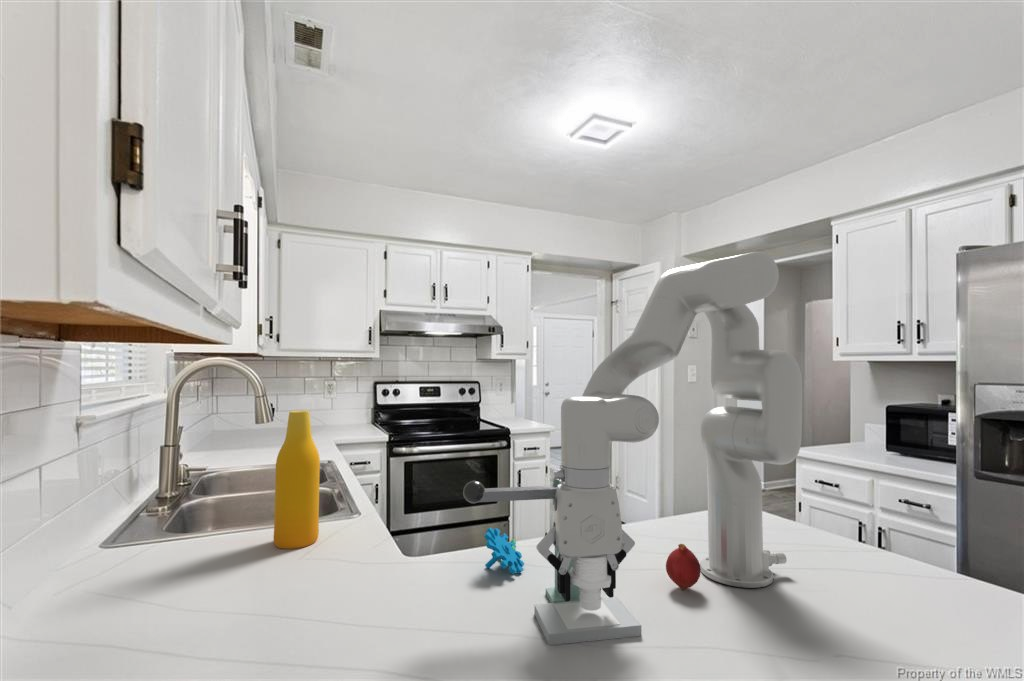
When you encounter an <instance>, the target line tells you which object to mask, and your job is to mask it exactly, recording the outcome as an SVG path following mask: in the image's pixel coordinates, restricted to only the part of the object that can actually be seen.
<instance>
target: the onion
mask: <svg viewBox="0 0 1024 681" xmlns="http://www.w3.org/2000/svg"><path fill="white" fill-rule="evenodd" d="M677 546H678V547H677V548H675V549H674V550H672V551H671V552H670V553H669V555H668V556H667V559H666V563H665V571H666V574H667V575H668V578H669V579H670V580H671V581H672V582H673V583H674V584H675V585H676V586H677V587H678V588H679V589H680V590H682V591H685V590H688V589H690V588H692V587H693V586H694V585H695V584H697V583H698V581H699V579H700V577H701V573H702V572H701V568H700V561H699V560H698V557H696V555H695V554H694V552H692V550H690V549H689V548H688V547H687V546H686V545H685V544H684V543H682V542H681V543H679V544H677Z"/></svg>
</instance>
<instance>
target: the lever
mask: <svg viewBox="0 0 1024 681" xmlns="http://www.w3.org/2000/svg"><path fill="white" fill-rule="evenodd" d="M557 486H558V485H555V486H553V485H536V486H513V487H511V486H510V487H509V486H508V487H490V488H489V487H487V488H486V487H485V486H484V485H483V483H481V482H480V481H477V480H471V481H469V482H467V483H466V484H465V485H464V487H463V492H462V494H463V498H464V500H465V501H467V502H468V503H470V504H478V503H491V502H493V503H495V502H510V501H515V502H516V501H517V502H518V501H531V500H533V501H534V500H551V499H552V500H553V499H555V496H556V491H557Z"/></svg>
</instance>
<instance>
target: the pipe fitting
mask: <svg viewBox="0 0 1024 681" xmlns="http://www.w3.org/2000/svg"><path fill="white" fill-rule="evenodd" d="M569 574H570V583H571V584H573V585H576V586H578V587H579V591H580V596H579V599H580V606H581V607H582V608H583V609H585V610H590V611H593V610H598V609H600V607H601V599H602V588H608V587H610V584H611V576H609V575H608V574H607V556H606V555H605V556H593V557H579V558H573V567H572V568H571V569H570V571H569Z"/></svg>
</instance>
